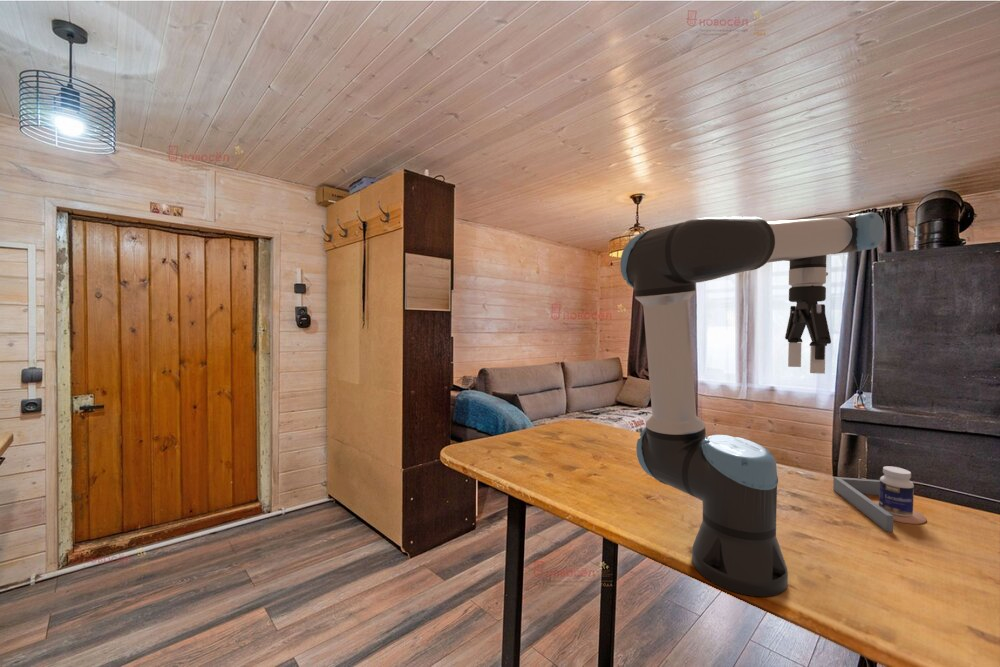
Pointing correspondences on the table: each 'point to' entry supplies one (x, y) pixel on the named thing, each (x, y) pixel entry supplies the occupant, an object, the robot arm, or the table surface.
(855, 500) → the low walls
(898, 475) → the pill bottle
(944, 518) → the table surface
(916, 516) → the pad
